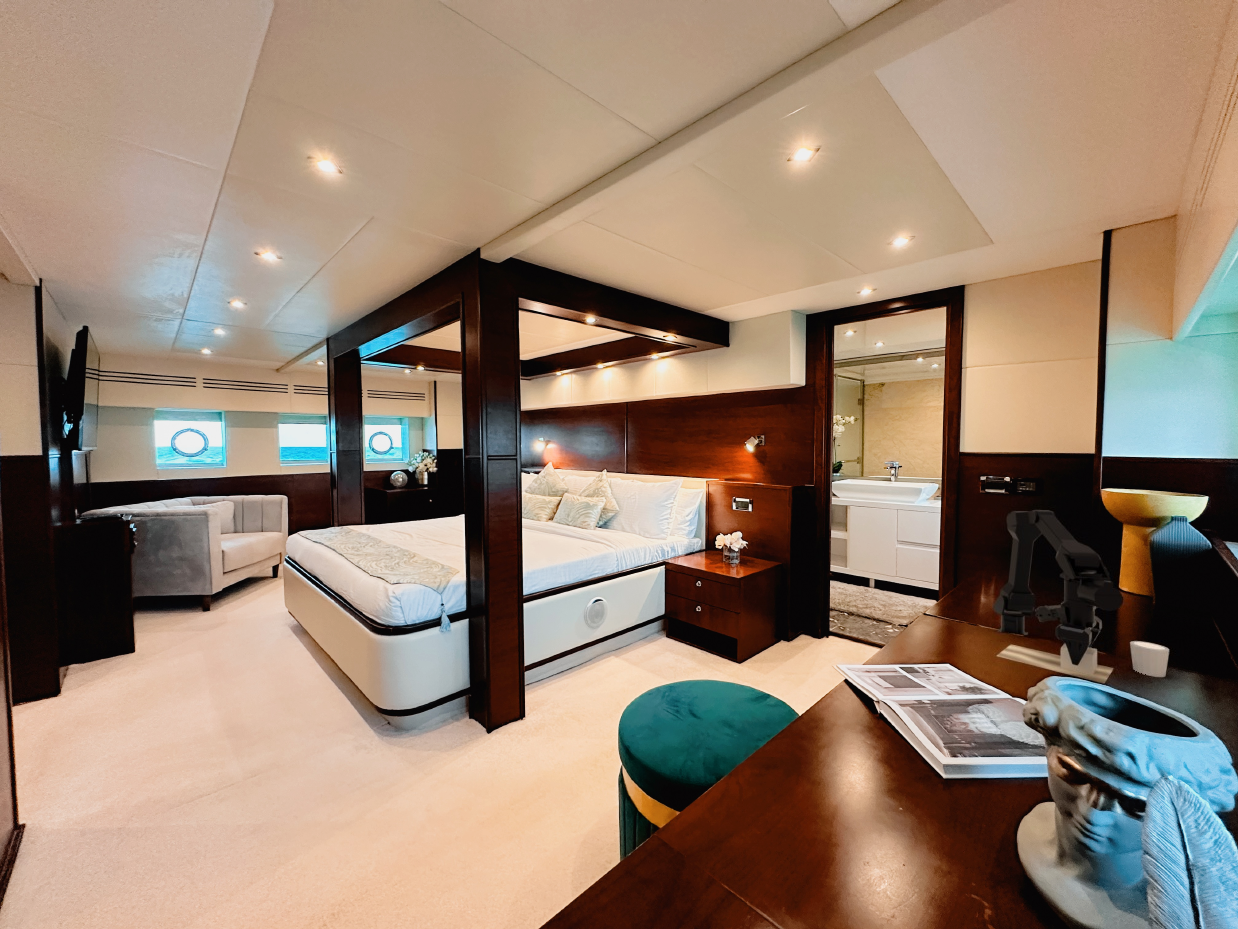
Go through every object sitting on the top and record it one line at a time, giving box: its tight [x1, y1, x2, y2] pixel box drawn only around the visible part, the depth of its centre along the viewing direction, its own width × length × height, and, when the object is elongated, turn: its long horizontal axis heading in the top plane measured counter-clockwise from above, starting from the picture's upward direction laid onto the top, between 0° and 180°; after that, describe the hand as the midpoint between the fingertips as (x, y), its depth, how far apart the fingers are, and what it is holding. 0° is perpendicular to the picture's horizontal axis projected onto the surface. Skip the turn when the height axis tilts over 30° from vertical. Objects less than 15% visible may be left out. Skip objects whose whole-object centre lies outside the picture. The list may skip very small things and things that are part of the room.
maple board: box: [996, 644, 1114, 684], centre depth 129 cm, size 14×21×2 cm, turn 38°
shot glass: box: [1129, 640, 1170, 678], centre depth 126 cm, size 7×7×7 cm
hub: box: [1060, 643, 1098, 675], centre depth 125 cm, size 6×6×5 cm
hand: (1078, 660), depth 125 cm, fingers open, 9 cm apart
